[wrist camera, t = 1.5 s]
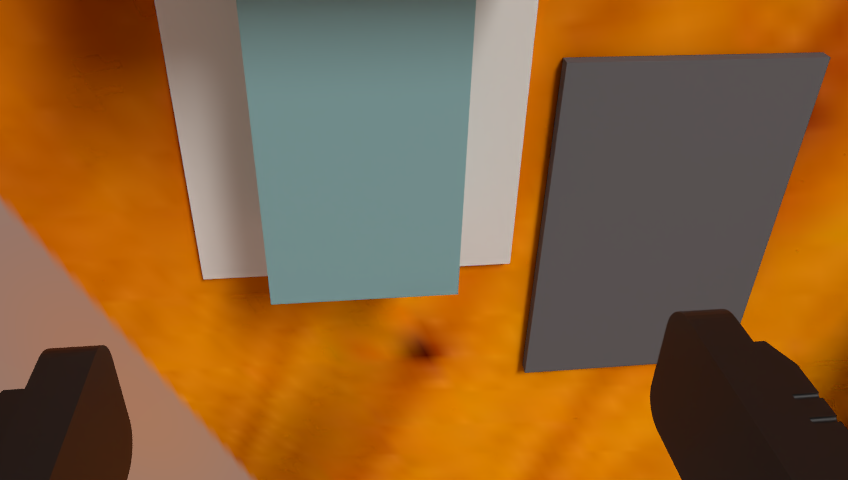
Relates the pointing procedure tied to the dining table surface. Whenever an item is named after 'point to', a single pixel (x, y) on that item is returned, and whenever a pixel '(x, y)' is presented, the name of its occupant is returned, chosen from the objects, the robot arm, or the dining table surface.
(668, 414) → the robot arm
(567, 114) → the rubber mat
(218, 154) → the white piece
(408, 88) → the teal blank
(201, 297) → the dining table surface
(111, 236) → the dining table surface
